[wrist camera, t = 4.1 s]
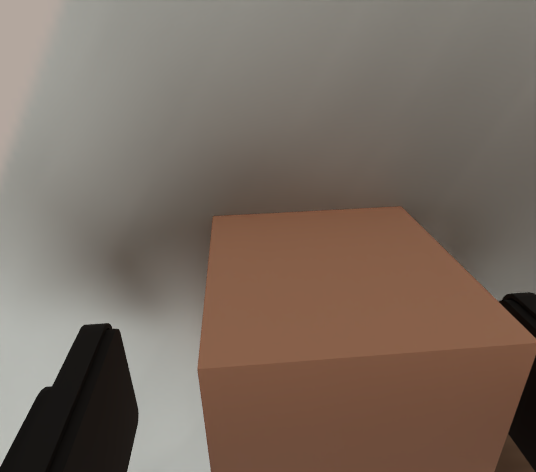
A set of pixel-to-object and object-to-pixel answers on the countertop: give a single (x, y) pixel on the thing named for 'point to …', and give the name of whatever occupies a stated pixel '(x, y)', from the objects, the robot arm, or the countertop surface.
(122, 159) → the countertop surface
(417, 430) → the terracotta block
